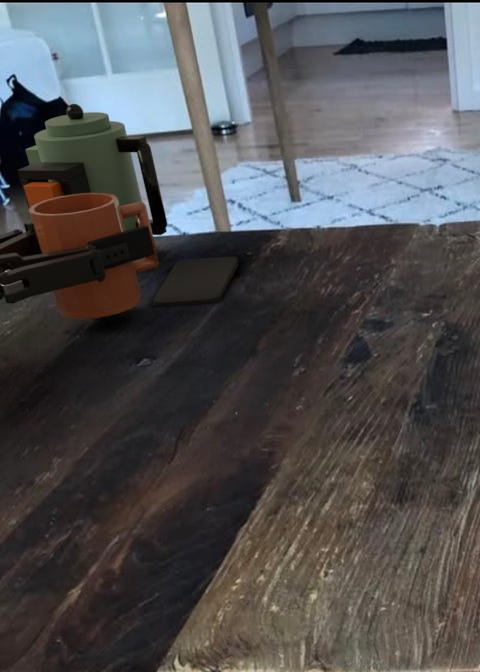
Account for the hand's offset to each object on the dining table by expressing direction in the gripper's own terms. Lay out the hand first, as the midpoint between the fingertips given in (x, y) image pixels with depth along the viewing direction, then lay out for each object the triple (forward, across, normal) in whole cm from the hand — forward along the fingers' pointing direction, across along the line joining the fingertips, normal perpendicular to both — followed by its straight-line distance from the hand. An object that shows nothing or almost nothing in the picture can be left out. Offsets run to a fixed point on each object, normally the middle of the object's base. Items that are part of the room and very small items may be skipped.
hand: (124, 233), depth 115 cm
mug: (-3, 0, -6) cm, 7 cm away
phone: (+9, -2, -8) cm, 12 cm away
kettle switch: (0, -15, 0) cm, 15 cm away
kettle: (+7, -18, -8) cm, 21 cm away
